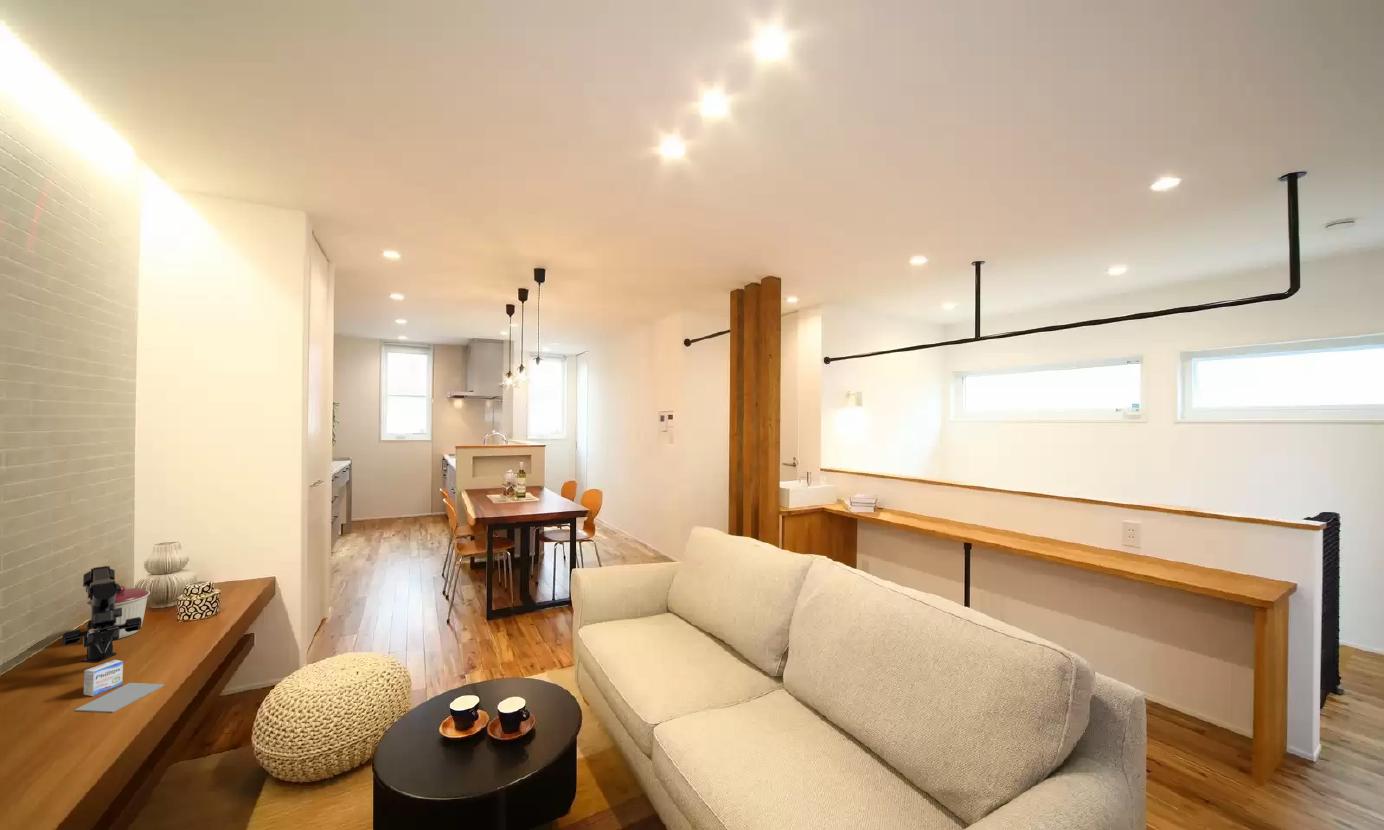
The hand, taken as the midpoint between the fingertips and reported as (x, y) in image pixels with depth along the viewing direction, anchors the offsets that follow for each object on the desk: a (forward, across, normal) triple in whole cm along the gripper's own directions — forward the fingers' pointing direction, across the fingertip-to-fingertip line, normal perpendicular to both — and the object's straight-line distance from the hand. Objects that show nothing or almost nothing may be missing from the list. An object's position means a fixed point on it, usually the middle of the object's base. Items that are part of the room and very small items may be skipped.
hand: (103, 652), depth 180 cm
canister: (-25, +5, +40) cm, 47 cm away
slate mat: (+21, +4, -7) cm, 22 cm away
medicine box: (+14, 0, +1) cm, 14 cm away
